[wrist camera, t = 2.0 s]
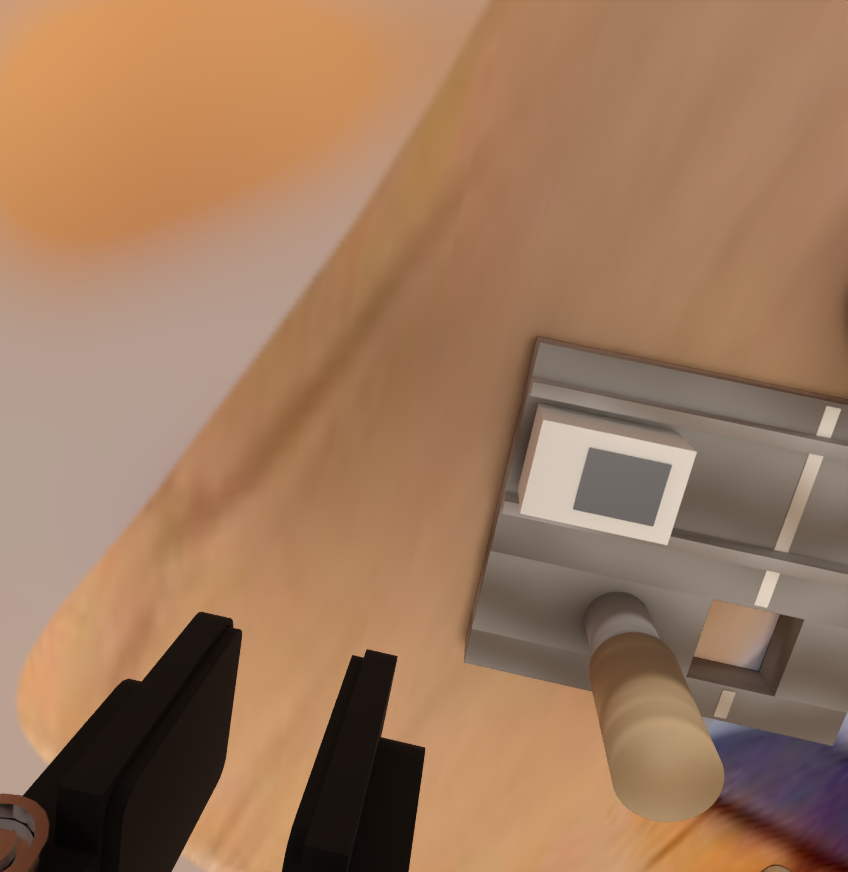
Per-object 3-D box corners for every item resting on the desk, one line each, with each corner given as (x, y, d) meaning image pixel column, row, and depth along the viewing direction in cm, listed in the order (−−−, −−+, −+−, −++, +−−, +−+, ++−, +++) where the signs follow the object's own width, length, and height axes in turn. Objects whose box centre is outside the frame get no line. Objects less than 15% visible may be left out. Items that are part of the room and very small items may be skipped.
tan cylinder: (588, 578, 32) (628, 720, 22) (665, 595, 32) (738, 745, 22) (569, 644, 33) (599, 808, 23) (644, 661, 33) (705, 832, 23)
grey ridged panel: (537, 336, 31) (542, 346, 28) (938, 418, 31) (988, 437, 27) (465, 640, 36) (462, 677, 33) (813, 718, 35) (844, 763, 32)
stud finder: (538, 402, 30) (543, 420, 27) (677, 431, 29) (697, 453, 26) (517, 488, 31) (519, 515, 28) (651, 517, 31) (668, 546, 28)
